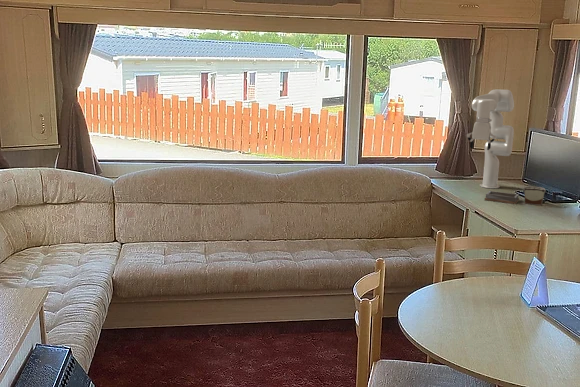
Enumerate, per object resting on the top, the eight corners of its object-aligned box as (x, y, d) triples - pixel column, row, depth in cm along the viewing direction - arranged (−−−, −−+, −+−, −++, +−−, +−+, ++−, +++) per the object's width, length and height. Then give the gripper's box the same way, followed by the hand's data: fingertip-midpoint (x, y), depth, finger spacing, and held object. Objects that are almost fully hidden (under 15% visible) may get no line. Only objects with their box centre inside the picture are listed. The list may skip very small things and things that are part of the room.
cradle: (488, 196, 355) (489, 190, 354) (518, 199, 347) (519, 194, 346) (484, 200, 344) (485, 194, 343) (515, 204, 336) (516, 198, 335)
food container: (543, 203, 339) (545, 187, 337) (544, 205, 333) (546, 189, 331) (521, 201, 343) (523, 185, 341) (521, 203, 337) (523, 187, 335)
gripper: (498, 121, 335) (496, 149, 339) (469, 119, 344) (466, 147, 347) (496, 122, 329) (493, 150, 333) (466, 120, 337) (464, 148, 341)
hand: (480, 149), depth 340 cm, fingers open, 9 cm apart
